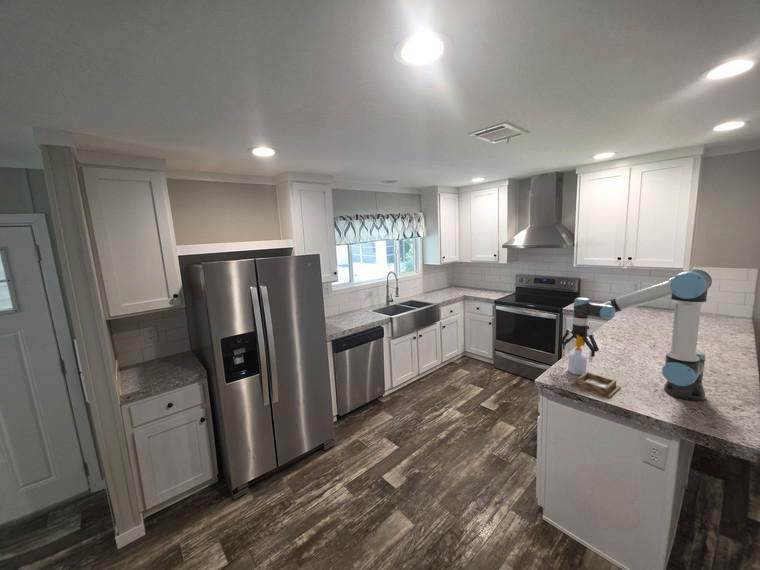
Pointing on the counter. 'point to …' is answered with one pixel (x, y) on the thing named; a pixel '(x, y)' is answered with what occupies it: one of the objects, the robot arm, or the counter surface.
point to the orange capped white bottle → (577, 358)
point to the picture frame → (597, 384)
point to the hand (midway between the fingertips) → (577, 358)
